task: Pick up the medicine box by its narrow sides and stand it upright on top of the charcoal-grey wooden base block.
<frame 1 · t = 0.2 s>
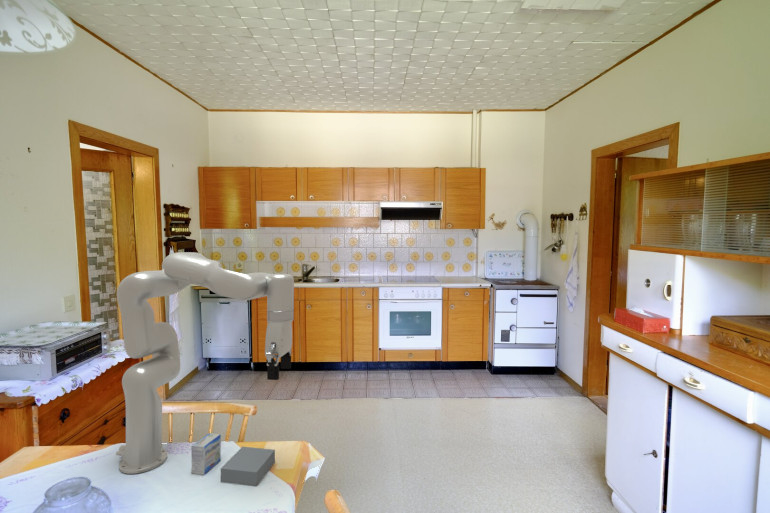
hand: (279, 373, 108), 31 cm above the table, tool pointing down, fingers open, 9 cm apart
medicine box: (206, 467, 113), on the table
base block: (248, 471, 111), on the table
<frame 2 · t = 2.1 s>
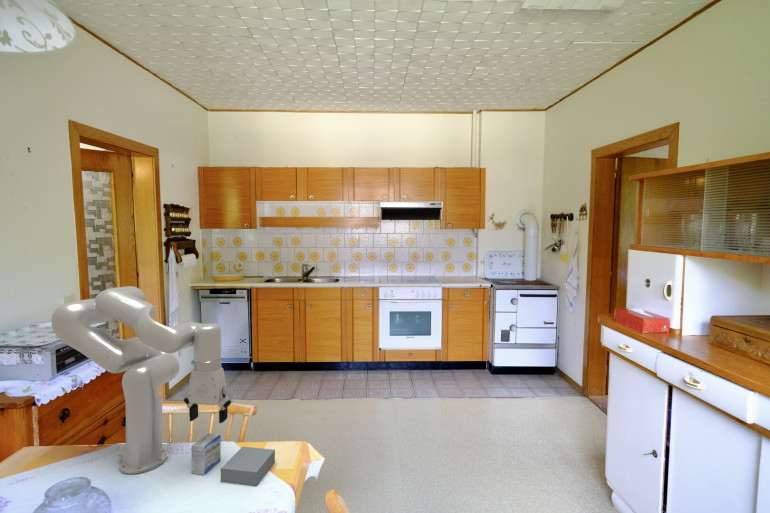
hand: (208, 420, 113), 15 cm above the table, tool pointing down, fingers open, 9 cm apart
nothing on the table moved.
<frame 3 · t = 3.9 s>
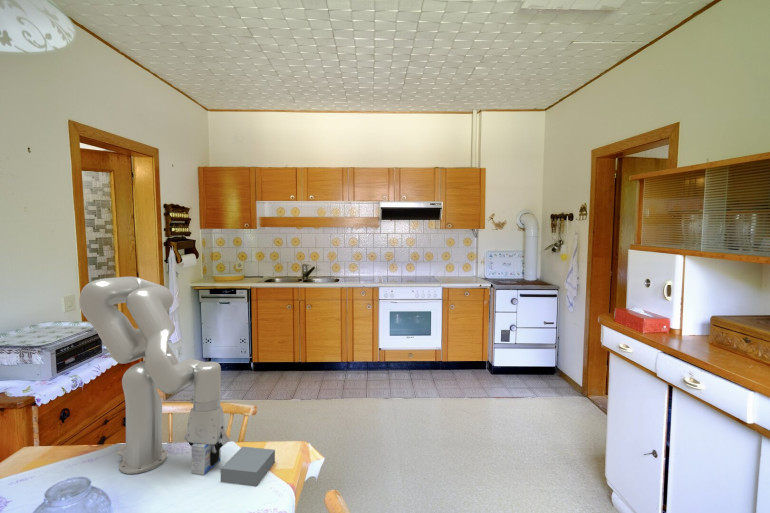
hand: (206, 461, 113), 2 cm above the table, tool pointing down, fingers closed on medicine box, 4 cm apart
medicine box: (206, 467, 113), on the table, touching gripper
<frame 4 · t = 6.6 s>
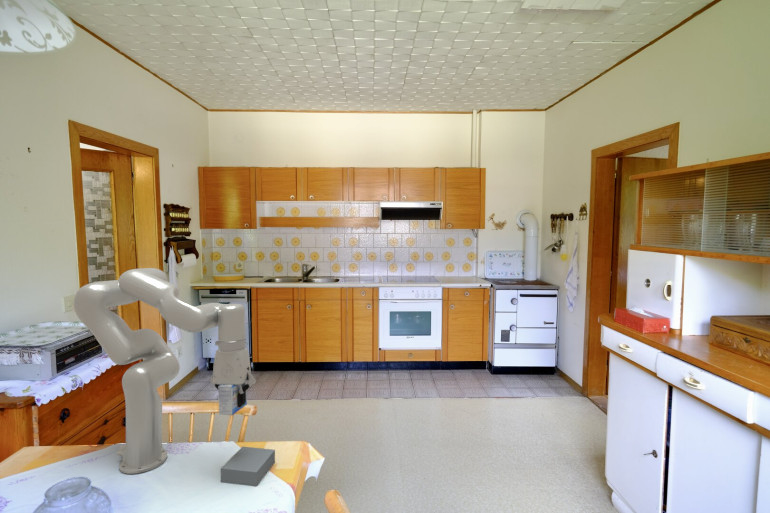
hand: (233, 404, 111), 20 cm above the table, tool pointing down, fingers closed on medicine box, 4 cm apart
medicine box: (233, 410, 111), point 18 cm above the table, touching gripper
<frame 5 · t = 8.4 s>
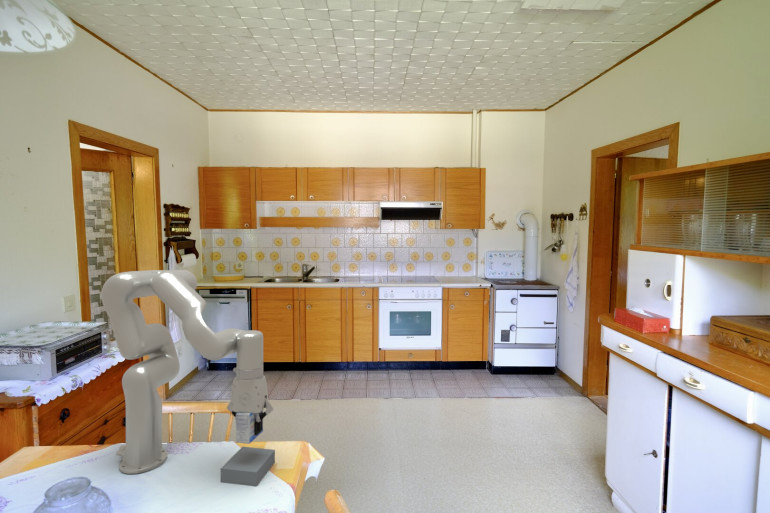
hand: (249, 431, 111), 12 cm above the table, tool pointing down, fingers closed on medicine box, 4 cm apart
medicine box: (249, 437, 111), point 10 cm above the table, touching gripper
when the fingers open (7 cm above the table, at t = 9.7 s): medicine box drops 1 cm, resting on base block.
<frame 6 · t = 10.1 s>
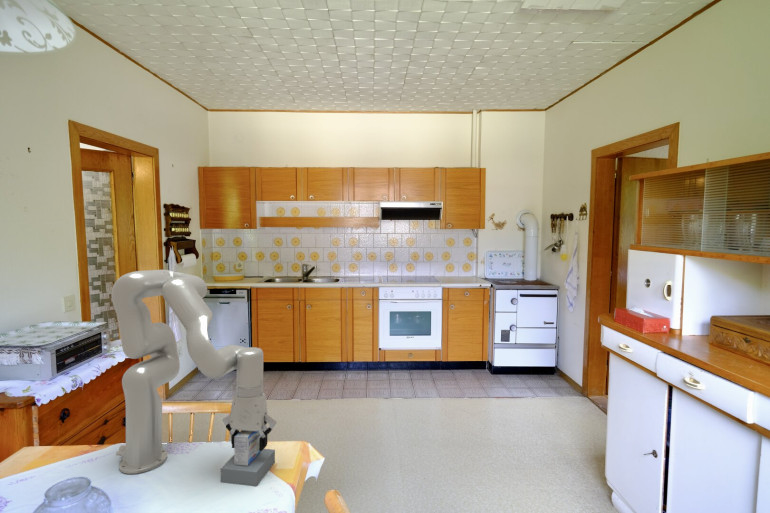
hand: (249, 447, 111), 8 cm above the table, tool pointing down, fingers open, 8 cm apart
medicine box: (247, 459, 111), point 4 cm above the table, touching base block
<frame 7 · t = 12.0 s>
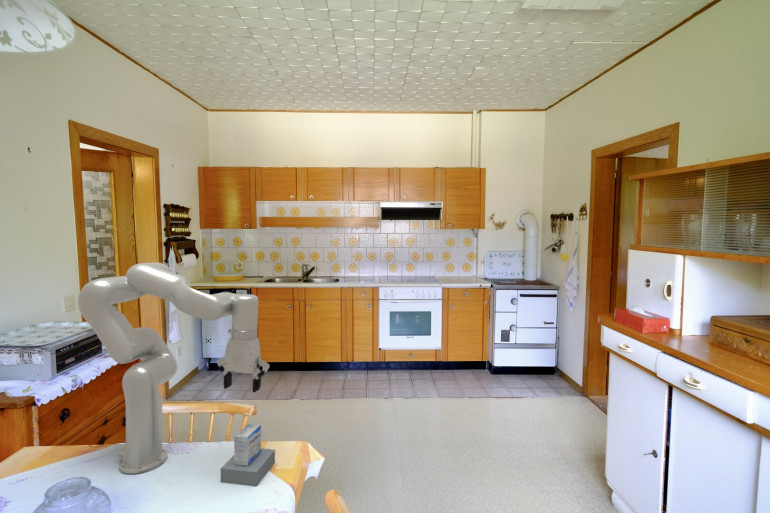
hand: (241, 388, 114), 24 cm above the table, tool pointing down, fingers open, 9 cm apart
nothing on the table moved.
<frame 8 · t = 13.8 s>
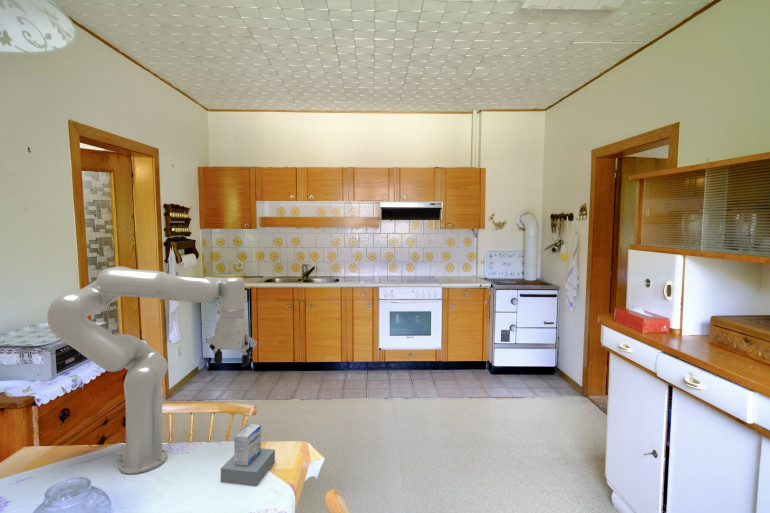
hand: (231, 365, 123), 28 cm above the table, tool pointing down, fingers open, 9 cm apart
nothing on the table moved.
at the end: medicine box 0.4 cm off-centre on the base block, point 3.8 cm above the base block's base; medicine box tilted 0°; the gripper is holding nothing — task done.
